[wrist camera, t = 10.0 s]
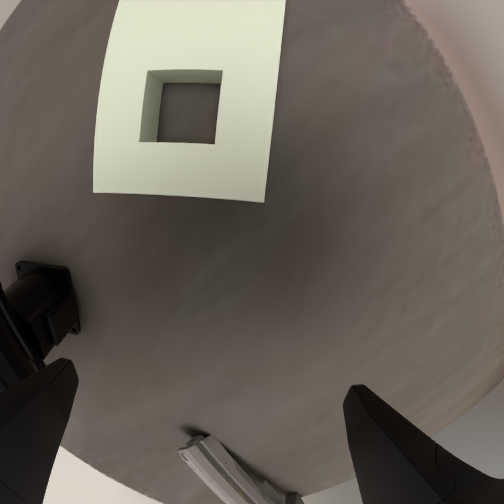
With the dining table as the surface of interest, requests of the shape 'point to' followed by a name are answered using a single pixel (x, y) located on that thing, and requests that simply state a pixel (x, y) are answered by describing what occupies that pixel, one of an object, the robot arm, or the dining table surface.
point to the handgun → (228, 475)
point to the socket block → (188, 71)
